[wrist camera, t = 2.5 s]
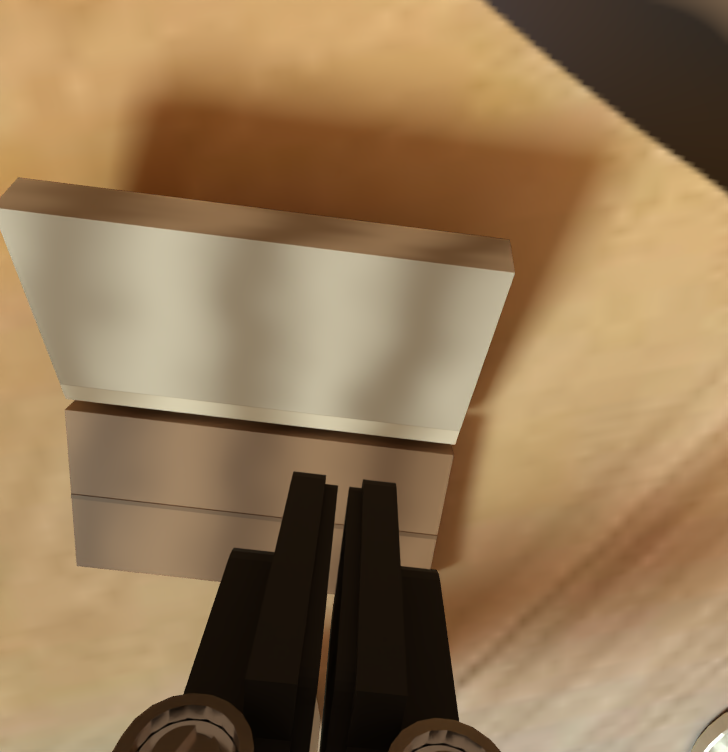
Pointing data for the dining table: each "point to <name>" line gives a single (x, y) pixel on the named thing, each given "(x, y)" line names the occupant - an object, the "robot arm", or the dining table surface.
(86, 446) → the laid board
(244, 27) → the dining table surface
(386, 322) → the board
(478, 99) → the dining table surface
